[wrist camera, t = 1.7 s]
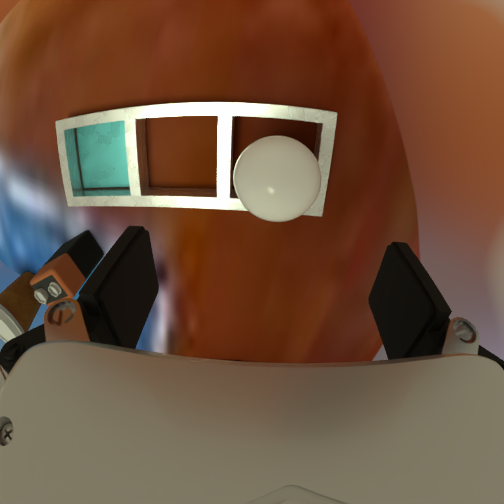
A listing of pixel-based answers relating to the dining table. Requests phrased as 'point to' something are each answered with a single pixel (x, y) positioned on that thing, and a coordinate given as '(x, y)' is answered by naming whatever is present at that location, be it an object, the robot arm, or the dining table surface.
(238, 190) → the lightbulb
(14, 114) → the dining table surface
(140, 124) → the rail
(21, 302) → the disposable coffee cup
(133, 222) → the dining table surface
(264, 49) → the dining table surface
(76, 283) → the battery
